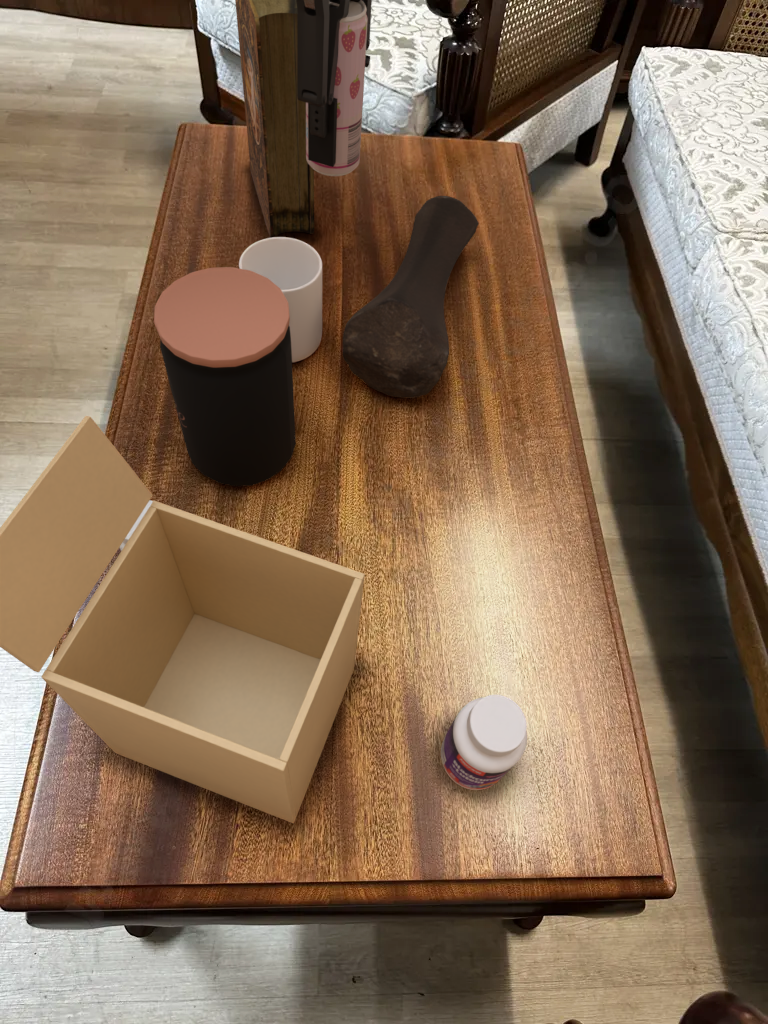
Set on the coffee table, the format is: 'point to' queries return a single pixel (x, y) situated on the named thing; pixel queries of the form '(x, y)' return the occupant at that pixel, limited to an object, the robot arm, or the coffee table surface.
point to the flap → (63, 541)
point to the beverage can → (347, 92)
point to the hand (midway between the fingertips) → (333, 145)
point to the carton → (214, 657)
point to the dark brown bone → (411, 307)
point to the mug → (292, 286)
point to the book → (275, 114)
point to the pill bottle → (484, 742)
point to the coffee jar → (230, 372)
